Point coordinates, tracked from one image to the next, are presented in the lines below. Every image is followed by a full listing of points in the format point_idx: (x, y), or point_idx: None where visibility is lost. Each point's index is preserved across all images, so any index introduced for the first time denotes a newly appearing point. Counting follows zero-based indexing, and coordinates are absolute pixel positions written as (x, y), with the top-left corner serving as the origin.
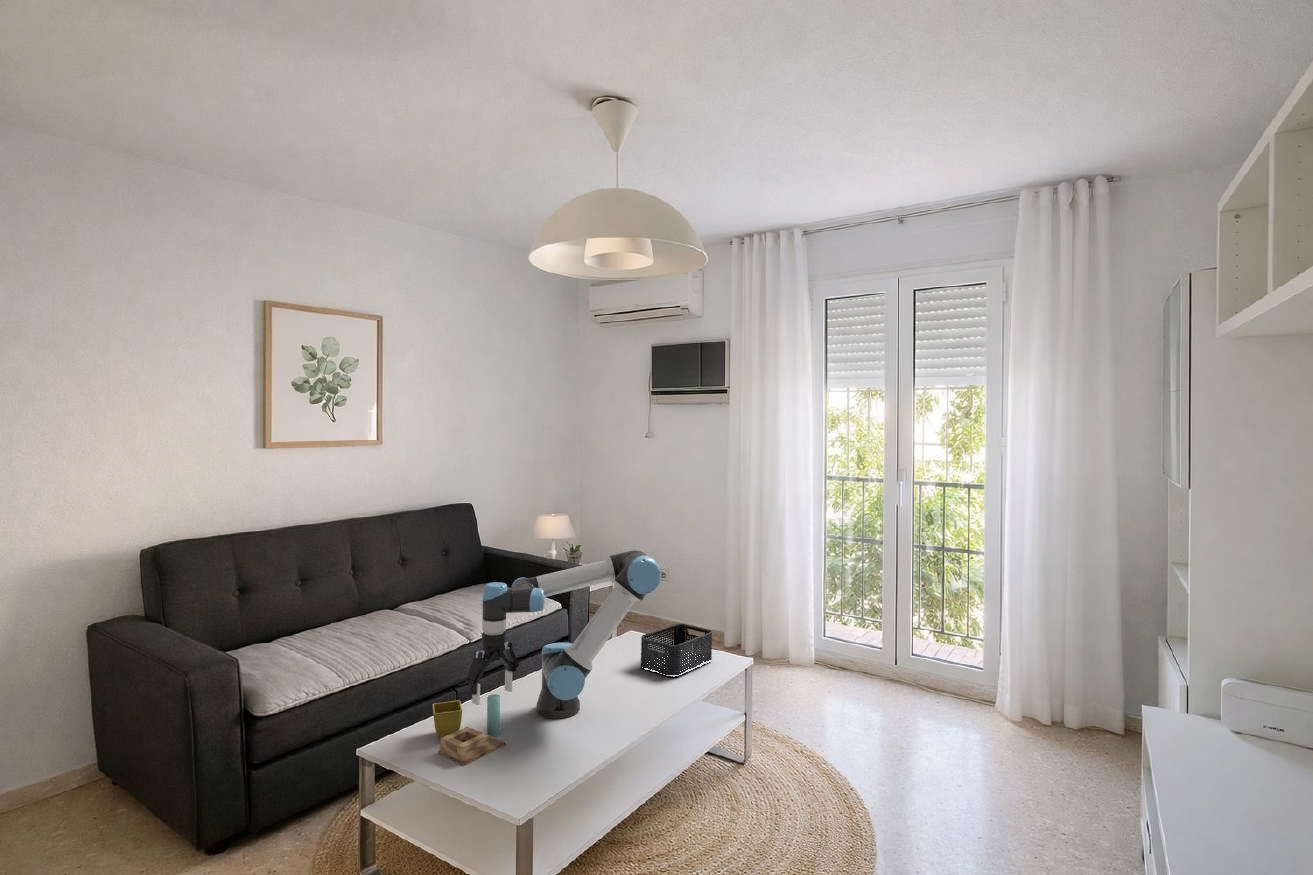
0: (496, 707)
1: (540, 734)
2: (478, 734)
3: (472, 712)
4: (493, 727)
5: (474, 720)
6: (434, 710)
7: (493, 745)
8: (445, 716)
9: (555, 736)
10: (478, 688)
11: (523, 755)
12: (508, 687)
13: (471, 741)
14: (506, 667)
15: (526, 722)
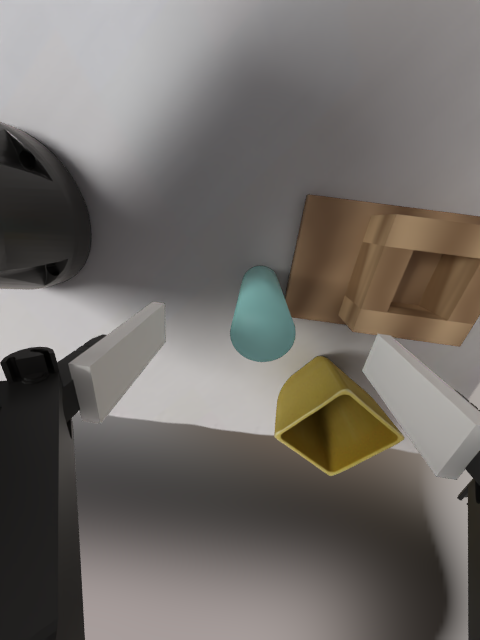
0: (273, 292)
1: (185, 133)
2: (401, 255)
3: (195, 398)
4: (276, 278)
5: (224, 371)
6: (377, 450)
7: (348, 214)
8: (375, 408)
9: (163, 53)
10: (464, 399)
11: (355, 58)
12: (156, 326)
13: (467, 237)
14: (73, 441)
15: (151, 246)
